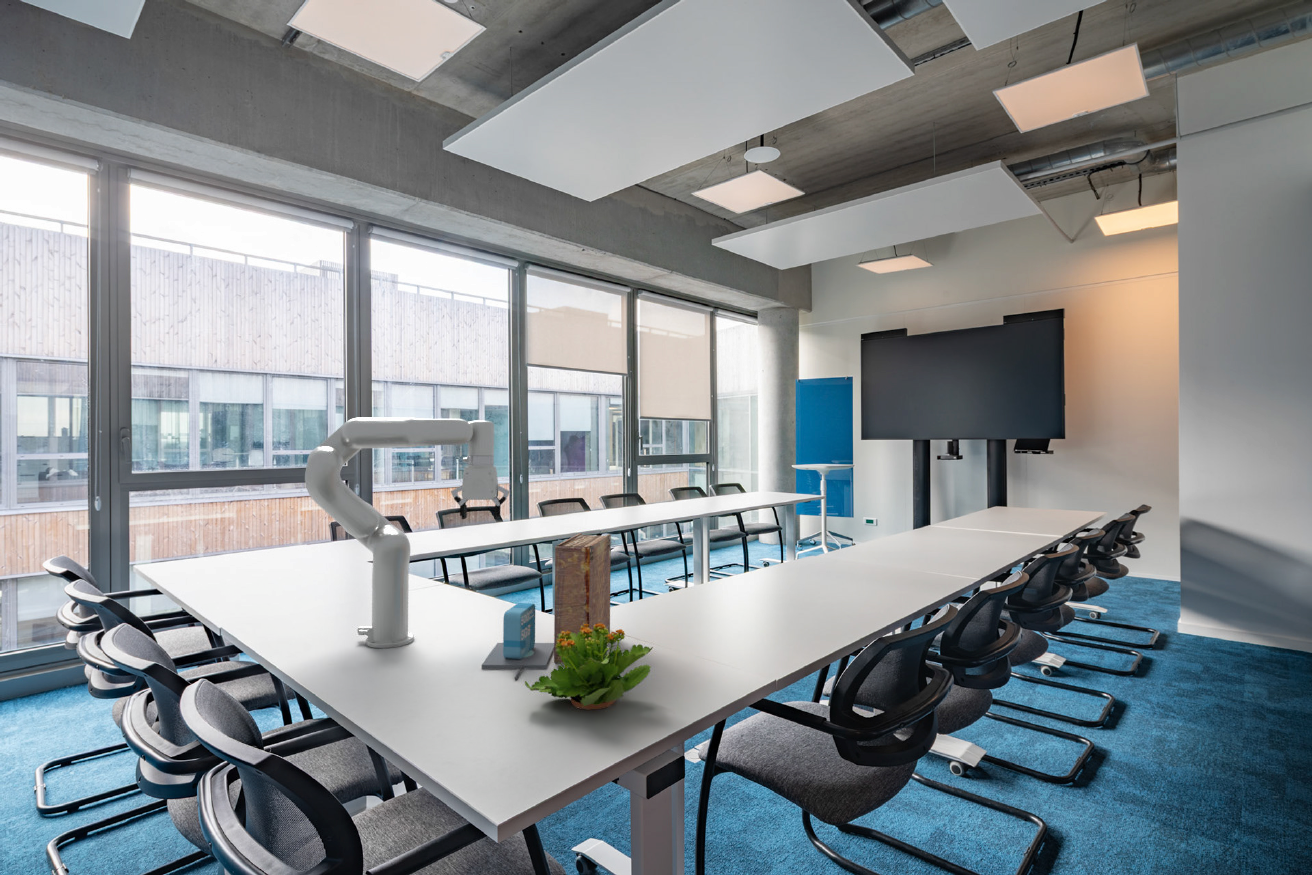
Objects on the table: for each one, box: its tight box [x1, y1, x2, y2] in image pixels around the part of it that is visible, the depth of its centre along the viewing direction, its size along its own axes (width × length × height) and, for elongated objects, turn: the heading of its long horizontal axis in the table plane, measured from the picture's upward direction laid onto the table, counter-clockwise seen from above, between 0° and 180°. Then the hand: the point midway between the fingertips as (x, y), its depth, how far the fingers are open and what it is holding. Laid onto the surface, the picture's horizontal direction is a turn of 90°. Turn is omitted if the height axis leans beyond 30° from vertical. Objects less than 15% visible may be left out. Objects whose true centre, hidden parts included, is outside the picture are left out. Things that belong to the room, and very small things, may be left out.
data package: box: [502, 602, 536, 659], centre depth 173 cm, size 12×4×12 cm, turn 172°
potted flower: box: [524, 623, 654, 711], centre depth 144 cm, size 25×24×18 cm
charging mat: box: [481, 642, 554, 681], centre depth 169 cm, size 16×26×1 cm, turn 1°
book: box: [553, 532, 612, 664], centre depth 180 cm, size 25×9×30 cm, turn 172°
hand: (480, 518), depth 198 cm, fingers open, 9 cm apart
